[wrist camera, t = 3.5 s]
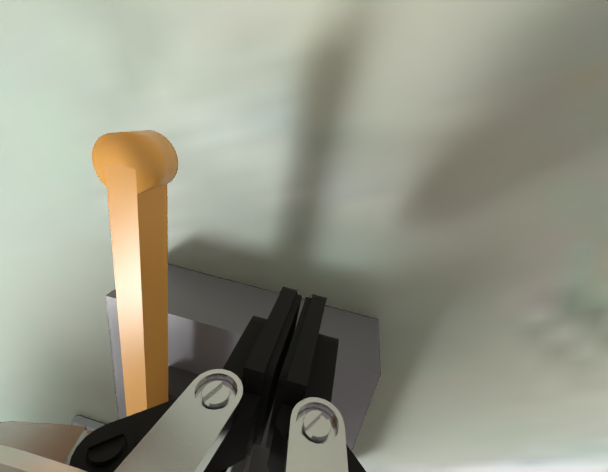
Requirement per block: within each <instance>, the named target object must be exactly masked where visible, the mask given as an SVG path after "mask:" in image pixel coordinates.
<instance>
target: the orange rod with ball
mask: <svg viewBox="0 0 608 472" xmlns="http://www.w3.org/2000/svg"><path fill="white" fill-rule="evenodd" d="M92 160H93V165H94V169H95V171H96V173H97V175H98V177H99V179H100V180H101V181H102V183H103V184H104V185H105V186H106V187H107V195H108V207H109V218H110V230H111V241H112V253H113V264H114V276H115V287H116V299H117V310H118V322H119V333H120V345H121V356H122V368H123V379H124V391H125V402H126V414H127V417H128V416H130V415H133V414H136V413H138V412H141V411H144V410H146V409H149V408H152V407H154V406H157V405H160V404H162V403H165V402H168V236H167V184H168V183H169V182H171V181H172V180H173V179H174V177H175V176H176V173H177V170H178V158H177V154H176V151H175V149H174V147H173V146H172V144H171V143H170V141H169V140H168V139H167V138H166V137H164V136H163V135H162V134H160V133H158V132H155V131H151V130H144V131H131V132H118V133H108V134H105V135H103V136H101V137H100V138H99V139H98V140H97V141H96V143H95V144H94V147H93V151H92Z"/></svg>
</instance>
